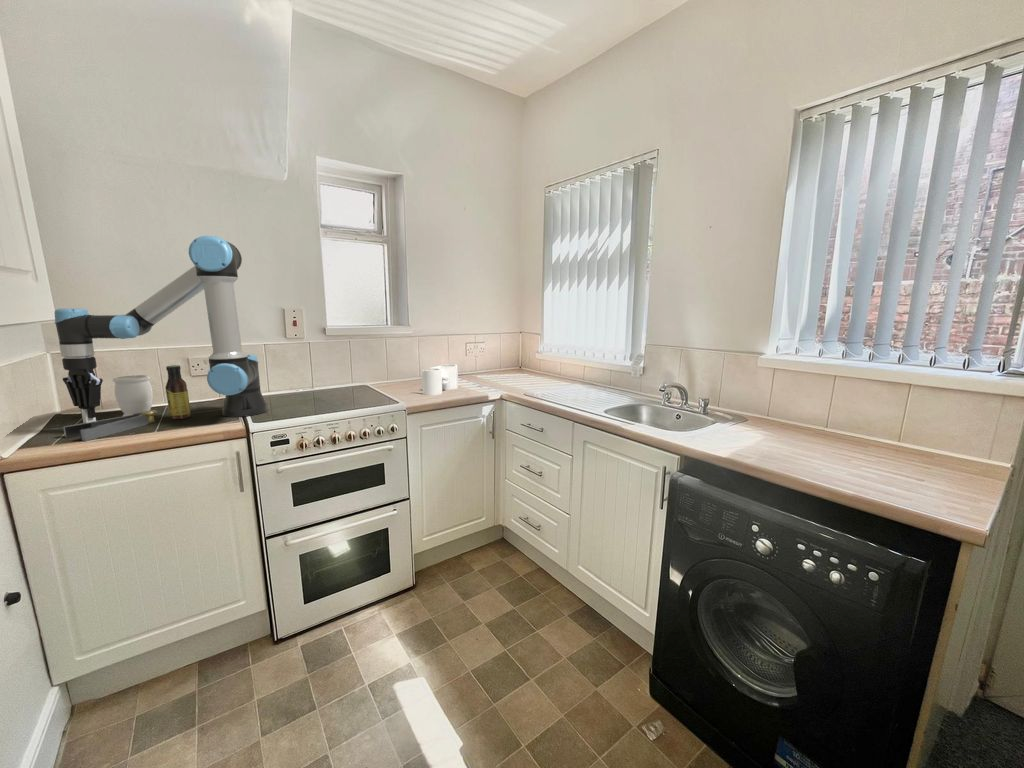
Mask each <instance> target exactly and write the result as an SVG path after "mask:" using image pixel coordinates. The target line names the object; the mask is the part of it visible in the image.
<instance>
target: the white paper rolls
mask: <svg viewBox="0 0 1024 768" xmlns="http://www.w3.org/2000/svg"><path fill="white" fill-rule="evenodd" d="M458 369H459V367H458V364H455V363H453V364H452V363H443V365H436V366H433V367H428V369H427V370H426V369H421V383H422V385H421V387H422V388H421V389H422V395H425V396H438V395H439V396H440V395H442V394H443V390H444V391H445V390H446V391H452V390H457V389H458V388H459V376H458V375H459V373H458V372H459V371H458Z"/></svg>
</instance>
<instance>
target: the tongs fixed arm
mask: <svg viewBox="0 0 1024 768" xmlns="http://www.w3.org/2000/svg"><path fill="white" fill-rule="evenodd" d="M154 415H155V414H153V415H140V416H136V417H132V418H128V419H124V420H120V421H116V422H112V423H108V424H104V425H98V426H94V427H90V428H86V429H82V430H80V438H81V439H80V440H81V442H88V440H89V441H91V440H95V439H99V437H100V438H102V437H106V436H110V435H114V434H117V433H120V432H121V433H122V432H125V431H128V430H131V429H135V428H136V429H137V428H140V427H144V426H147V425H149V424H151V423H155V417H154Z"/></svg>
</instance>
